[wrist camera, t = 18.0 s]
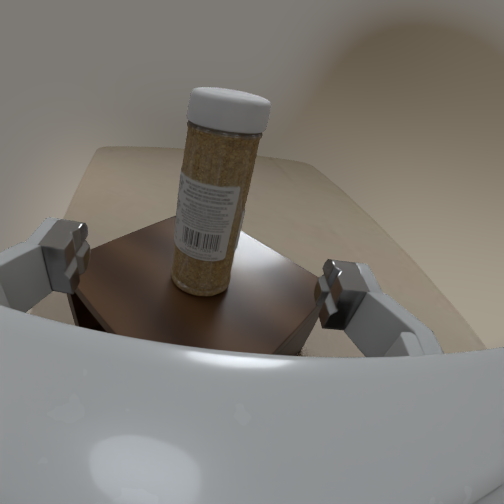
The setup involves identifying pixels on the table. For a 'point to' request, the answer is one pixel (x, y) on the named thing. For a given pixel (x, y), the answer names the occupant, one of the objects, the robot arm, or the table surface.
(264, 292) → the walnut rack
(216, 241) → the sprinkles bottle
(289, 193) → the table surface
